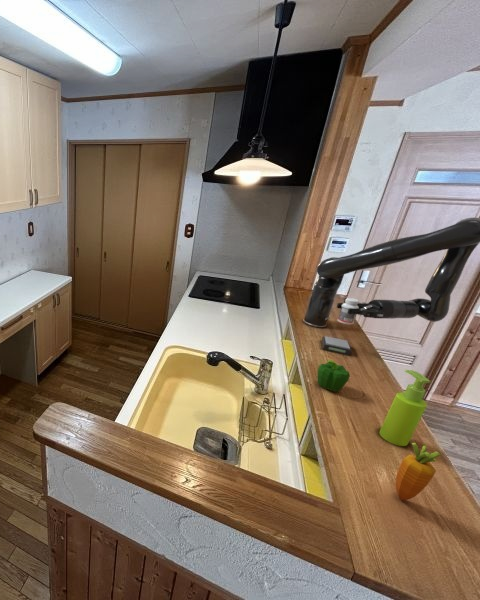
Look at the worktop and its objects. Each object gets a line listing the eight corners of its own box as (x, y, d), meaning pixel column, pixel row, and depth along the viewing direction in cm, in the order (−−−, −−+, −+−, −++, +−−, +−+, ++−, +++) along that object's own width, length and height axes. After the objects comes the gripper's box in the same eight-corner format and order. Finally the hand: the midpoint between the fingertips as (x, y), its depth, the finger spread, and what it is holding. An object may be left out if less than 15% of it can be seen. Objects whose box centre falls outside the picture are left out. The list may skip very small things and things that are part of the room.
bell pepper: (344, 386, 111) (354, 361, 107) (342, 397, 105) (351, 371, 102) (315, 376, 116) (323, 352, 113) (311, 386, 111) (320, 361, 107)
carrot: (380, 489, 74) (405, 439, 69) (399, 488, 75) (426, 438, 69) (402, 510, 70) (430, 458, 64) (422, 509, 70) (453, 457, 65)
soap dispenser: (393, 428, 93) (420, 369, 86) (413, 447, 86) (445, 384, 79) (371, 426, 93) (396, 367, 86) (390, 445, 87) (419, 383, 80)
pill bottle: (341, 318, 135) (348, 296, 131) (356, 323, 130) (364, 300, 127) (334, 320, 132) (341, 298, 129) (348, 325, 128) (356, 302, 124)
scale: (321, 341, 143) (323, 335, 141) (346, 346, 138) (348, 340, 137) (322, 349, 135) (324, 343, 134) (349, 355, 131) (352, 349, 130)
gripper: (374, 294, 134) (333, 293, 135) (406, 307, 121) (360, 306, 121) (368, 310, 137) (328, 310, 137) (398, 325, 123) (353, 324, 124)
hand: (343, 308), depth 129 cm, fingers closed on pill bottle, 5 cm apart
